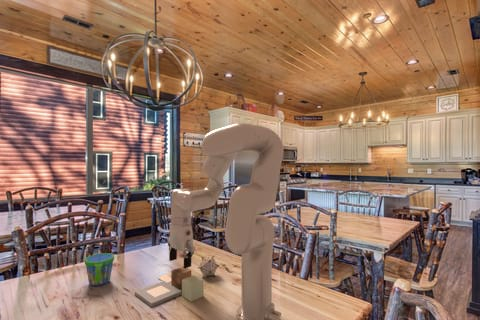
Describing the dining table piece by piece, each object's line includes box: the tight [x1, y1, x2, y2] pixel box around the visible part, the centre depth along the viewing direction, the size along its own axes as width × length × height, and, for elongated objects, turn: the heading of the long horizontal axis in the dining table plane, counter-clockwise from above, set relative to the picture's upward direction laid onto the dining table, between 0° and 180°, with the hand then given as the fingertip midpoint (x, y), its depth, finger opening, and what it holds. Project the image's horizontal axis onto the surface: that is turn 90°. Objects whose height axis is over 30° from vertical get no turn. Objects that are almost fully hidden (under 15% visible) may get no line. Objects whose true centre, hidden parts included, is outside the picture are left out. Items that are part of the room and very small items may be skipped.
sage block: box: [181, 275, 205, 302], centre depth 99 cm, size 6×6×6 cm
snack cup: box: [84, 252, 115, 287], centre depth 110 cm, size 16×10×10 cm
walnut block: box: [170, 266, 192, 291], centre depth 107 cm, size 6×6×6 cm
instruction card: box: [157, 272, 171, 284], centre depth 115 cm, size 7×10×1 cm
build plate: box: [134, 281, 182, 308], centre depth 100 cm, size 12×12×1 cm
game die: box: [197, 255, 220, 279], centre depth 116 cm, size 9×8×10 cm
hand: (180, 263), depth 108 cm, fingers open, 9 cm apart
